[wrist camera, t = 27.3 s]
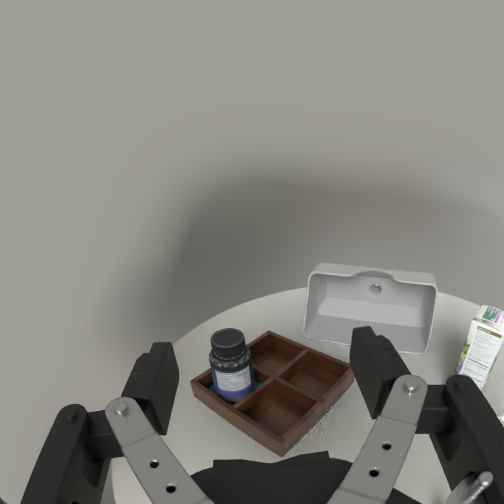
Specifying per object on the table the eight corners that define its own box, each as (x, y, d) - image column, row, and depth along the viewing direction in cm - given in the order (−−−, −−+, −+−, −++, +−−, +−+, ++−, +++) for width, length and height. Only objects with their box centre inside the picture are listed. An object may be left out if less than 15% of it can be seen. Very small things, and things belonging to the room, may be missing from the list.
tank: (426, 312, 62) (434, 261, 57) (426, 355, 48) (440, 295, 44) (323, 300, 73) (324, 250, 69) (301, 337, 60) (301, 280, 55)
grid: (281, 457, 34) (281, 443, 33) (194, 395, 46) (189, 380, 45) (353, 381, 46) (356, 366, 45) (269, 345, 58) (268, 330, 57)
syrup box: (458, 375, 42) (481, 302, 37) (484, 387, 37) (513, 313, 32) (445, 393, 39) (470, 318, 34) (473, 407, 34) (505, 331, 29)
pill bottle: (223, 377, 49) (214, 323, 46) (259, 381, 48) (254, 326, 44) (211, 402, 44) (198, 347, 40) (249, 408, 42) (242, 352, 38)
